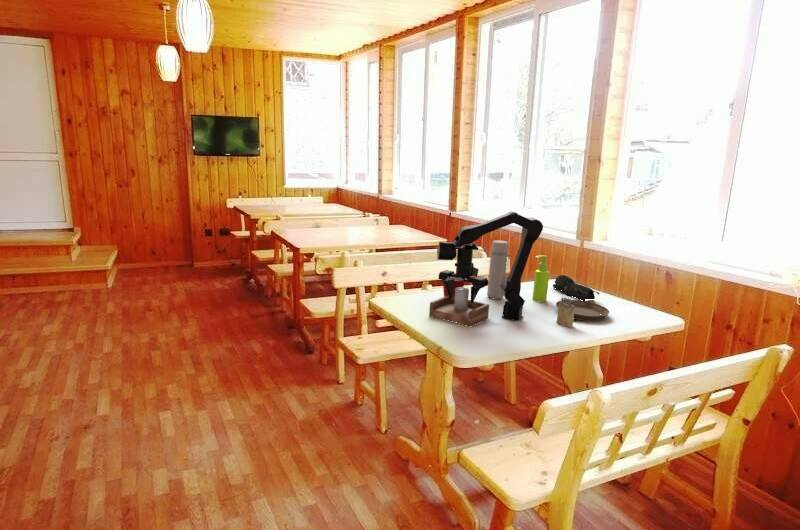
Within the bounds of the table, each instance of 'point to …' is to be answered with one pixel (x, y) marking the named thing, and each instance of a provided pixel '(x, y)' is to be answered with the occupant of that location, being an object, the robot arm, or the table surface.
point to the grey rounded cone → (461, 299)
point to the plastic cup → (456, 284)
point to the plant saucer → (588, 310)
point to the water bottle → (497, 268)
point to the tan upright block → (565, 312)
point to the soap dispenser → (541, 280)
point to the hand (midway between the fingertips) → (461, 300)
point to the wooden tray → (446, 311)
